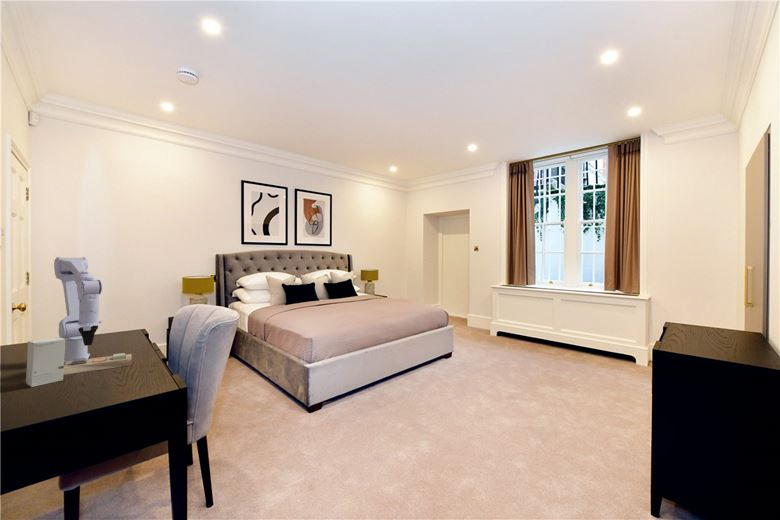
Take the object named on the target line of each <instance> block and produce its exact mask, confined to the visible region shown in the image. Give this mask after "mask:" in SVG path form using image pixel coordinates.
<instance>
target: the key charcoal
mask: <svg viewBox="0 0 780 520" xmlns="http://www.w3.org/2000/svg"><path fill="white" fill-rule="evenodd" d="M79 364H86V358H79V359H73V361H72V365H79Z"/></svg>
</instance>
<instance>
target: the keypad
mask: <svg viewBox="0 0 780 520" xmlns="http://www.w3.org/2000/svg"><path fill="white" fill-rule="evenodd" d="M100 358H106V361H102V362H94V363H93V360H94V359H100ZM129 366H132V353H125V359H117V360H113V355H110V356H109V355H108V356H101V357H95V358H88V359H86V364H79V365H72V361H68V362H66V363H64V372H63V376H65V375H66V376H67V375H72V374H73V375H74V374H79V373H87V372H94V371H100V370H107V369H116V368H122V367H129Z"/></svg>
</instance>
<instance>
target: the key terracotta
mask: <svg viewBox="0 0 780 520" xmlns="http://www.w3.org/2000/svg"><path fill="white" fill-rule="evenodd" d="M99 358H100V357H99ZM102 361H106V358H100V359H94V360H93V363H94V362H102Z"/></svg>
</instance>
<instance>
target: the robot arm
mask: <svg viewBox="0 0 780 520" xmlns="http://www.w3.org/2000/svg"><path fill="white" fill-rule="evenodd" d="M53 261H54V262H53V267H54V269H53V270H54V276H55V278H56V279H58V280H60V281H61V284H62V287H63V295H64V301H65V303H64V304H65V310H66V316H65V317H64V318H63V319H60V321H59V323H58V338H59V337H60V338H63V339H65V353H64V364H65V363H66V362H68V361H73V359H79V358H86V359H90V358H89V357H90V354H91V353H88V348H89V347H88V346H92V345H93V342H94V339H95V334H96V332H97V330H98V329H99V325H98V324H102V323H103V320H99V311H100V310H99V309H100V308H99V307H100V295H101V294H102V289H103V285H102V282H101V280H100V279H95V278H94V276H93V274H92V273H91V272H90V271H88V268H89V260H88V259H87V258H86V257H60V256H57V257H56V258H55V259H54V260H53Z"/></svg>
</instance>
